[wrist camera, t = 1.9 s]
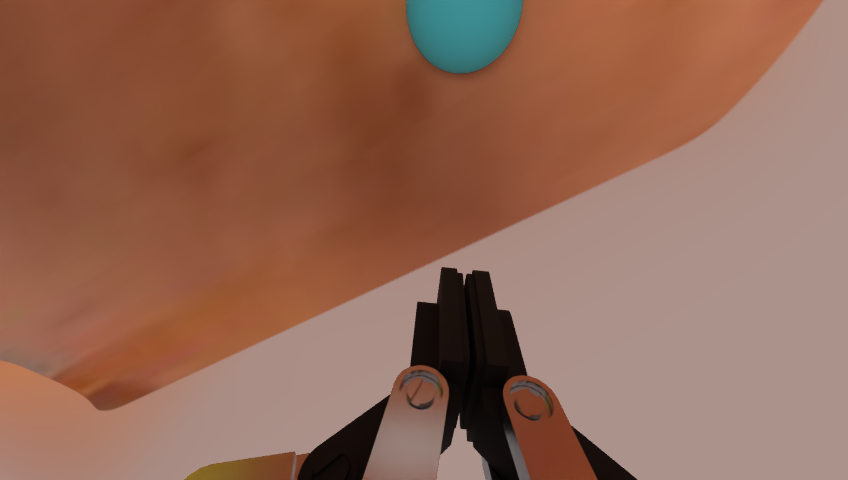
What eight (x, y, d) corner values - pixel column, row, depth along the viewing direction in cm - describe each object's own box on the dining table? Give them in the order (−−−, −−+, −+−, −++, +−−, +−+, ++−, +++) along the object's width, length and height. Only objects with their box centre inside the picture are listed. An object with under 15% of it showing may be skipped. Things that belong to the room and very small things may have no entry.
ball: (408, 68, 20) (397, 69, 15) (413, -54, 17) (403, -105, 12) (499, 76, 20) (520, 80, 15) (520, -44, 17) (555, -90, 12)
